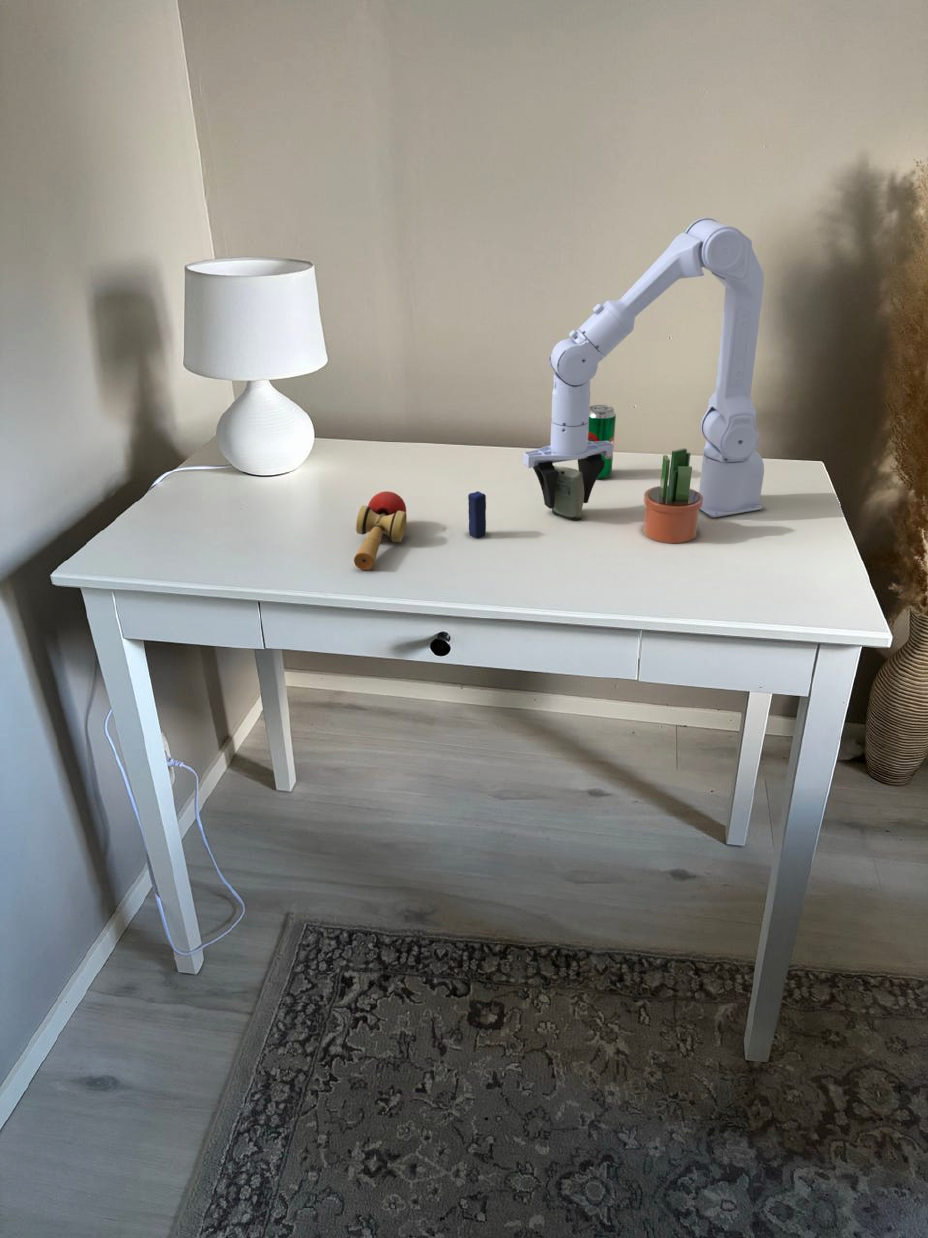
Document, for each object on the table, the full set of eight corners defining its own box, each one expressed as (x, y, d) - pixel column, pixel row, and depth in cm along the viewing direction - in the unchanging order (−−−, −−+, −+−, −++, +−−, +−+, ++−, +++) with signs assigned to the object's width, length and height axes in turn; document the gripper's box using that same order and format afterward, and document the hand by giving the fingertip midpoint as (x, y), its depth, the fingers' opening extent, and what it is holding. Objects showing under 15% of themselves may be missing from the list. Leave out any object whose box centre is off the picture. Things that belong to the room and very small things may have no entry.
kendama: (397, 579, 140) (419, 514, 154) (386, 542, 136) (410, 479, 150) (346, 584, 141) (373, 519, 156) (334, 548, 138) (362, 485, 152)
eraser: (487, 535, 150) (487, 494, 146) (475, 539, 149) (475, 497, 145) (478, 531, 151) (478, 489, 148) (467, 534, 150) (466, 493, 147)
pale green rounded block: (546, 520, 154) (548, 473, 151) (548, 507, 159) (550, 461, 155) (582, 522, 154) (585, 474, 150) (583, 509, 158) (586, 462, 154)
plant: (679, 517, 155) (688, 436, 149) (710, 539, 148) (720, 455, 141) (630, 525, 152) (637, 443, 146) (659, 548, 145) (668, 462, 139)
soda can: (610, 480, 169) (615, 413, 163) (581, 478, 170) (585, 411, 164) (612, 470, 173) (617, 404, 168) (584, 468, 174) (587, 403, 168)
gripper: (600, 407, 154) (595, 488, 161) (516, 418, 150) (514, 500, 156) (621, 420, 148) (615, 503, 155) (534, 432, 144) (532, 517, 151)
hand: (566, 503), depth 155 cm, fingers open, 5 cm apart
